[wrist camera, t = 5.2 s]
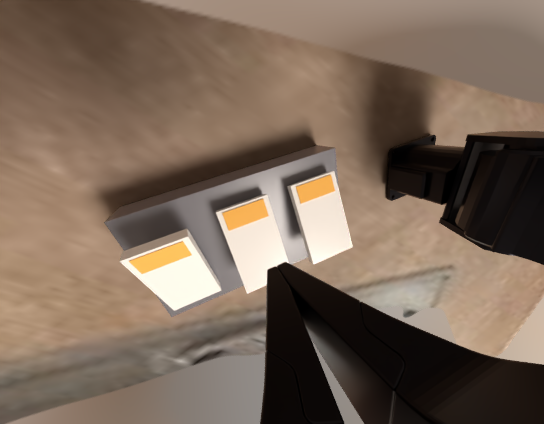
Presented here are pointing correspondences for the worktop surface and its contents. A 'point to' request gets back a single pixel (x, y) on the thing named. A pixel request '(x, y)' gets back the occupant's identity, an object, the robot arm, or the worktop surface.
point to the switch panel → (217, 195)
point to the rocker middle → (252, 239)
